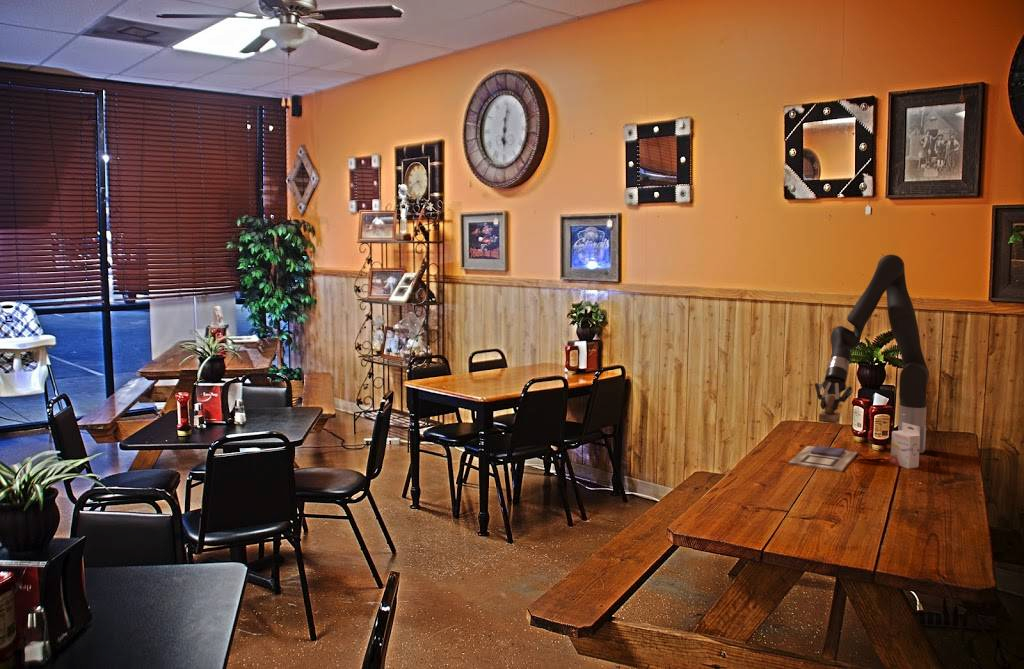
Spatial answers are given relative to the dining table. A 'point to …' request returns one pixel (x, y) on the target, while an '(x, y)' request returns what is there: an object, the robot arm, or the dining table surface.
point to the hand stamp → (829, 411)
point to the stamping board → (823, 458)
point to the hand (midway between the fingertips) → (828, 408)
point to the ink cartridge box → (906, 446)
